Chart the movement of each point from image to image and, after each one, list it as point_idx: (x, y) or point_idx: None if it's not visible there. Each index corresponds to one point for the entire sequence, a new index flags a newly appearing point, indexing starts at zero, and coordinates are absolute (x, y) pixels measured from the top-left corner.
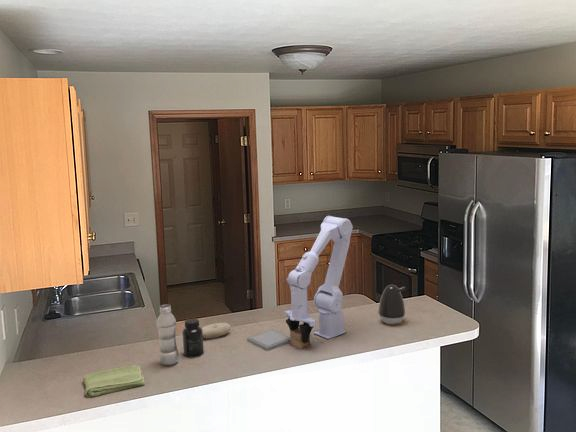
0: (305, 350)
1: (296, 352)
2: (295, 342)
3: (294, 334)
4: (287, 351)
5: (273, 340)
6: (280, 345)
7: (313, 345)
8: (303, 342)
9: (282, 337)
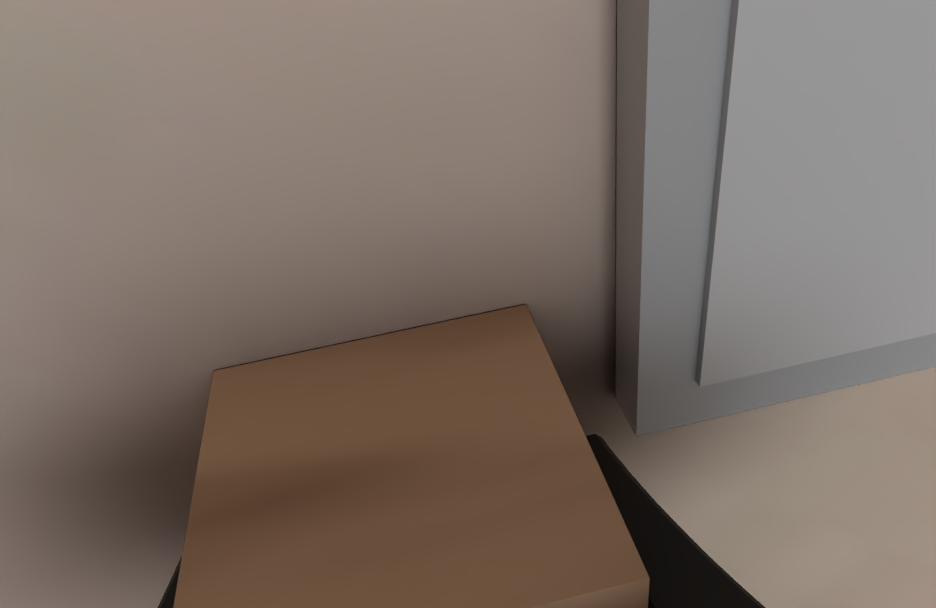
0: (52, 421)
1: (3, 222)
2: (366, 405)
3: (421, 579)
4: (174, 46)
5: (916, 6)
6: (618, 74)
7: None
8: None
9: (839, 289)
